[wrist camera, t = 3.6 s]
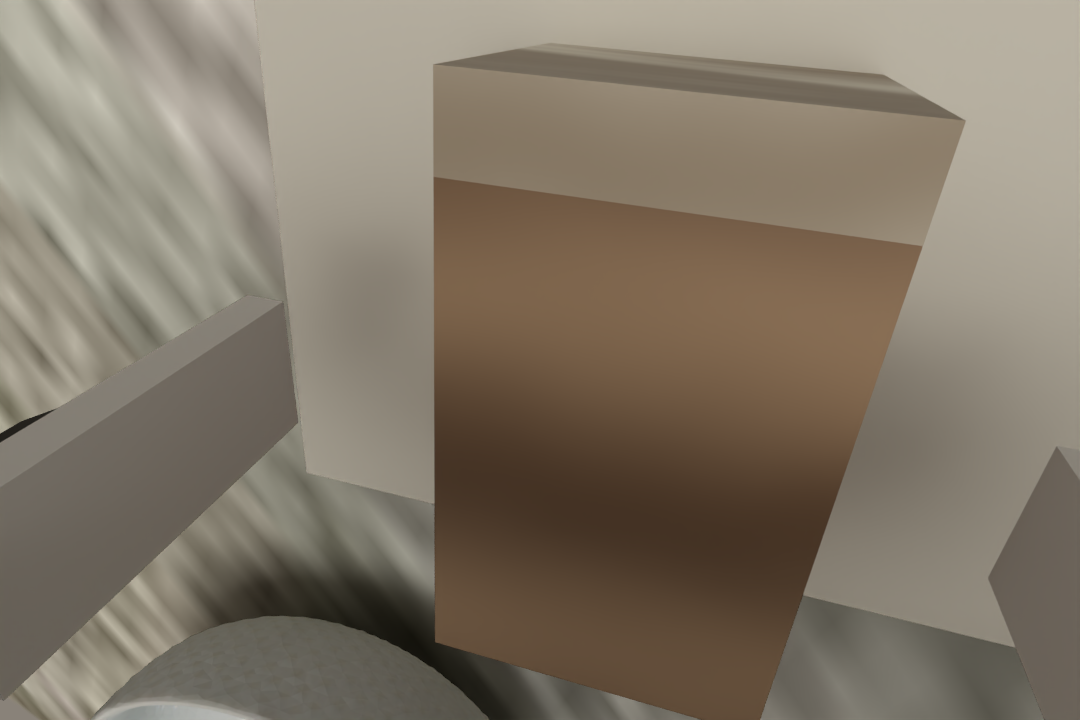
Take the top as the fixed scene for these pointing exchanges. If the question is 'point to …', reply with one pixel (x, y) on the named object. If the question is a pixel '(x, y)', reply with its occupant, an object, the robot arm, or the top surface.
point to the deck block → (658, 351)
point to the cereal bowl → (287, 678)
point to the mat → (924, 321)
